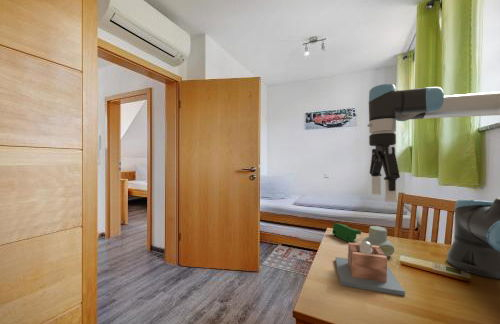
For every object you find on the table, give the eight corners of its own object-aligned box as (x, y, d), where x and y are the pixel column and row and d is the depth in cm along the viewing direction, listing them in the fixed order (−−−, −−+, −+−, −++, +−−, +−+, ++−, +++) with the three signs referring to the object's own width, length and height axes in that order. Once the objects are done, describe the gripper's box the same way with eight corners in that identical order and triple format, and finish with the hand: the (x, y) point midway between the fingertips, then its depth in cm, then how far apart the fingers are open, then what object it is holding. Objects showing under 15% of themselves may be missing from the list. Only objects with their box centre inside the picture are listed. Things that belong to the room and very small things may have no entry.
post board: (386, 267, 74) (386, 263, 74) (404, 295, 59) (405, 291, 59) (335, 260, 78) (335, 257, 78) (340, 285, 63) (340, 281, 63)
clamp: (354, 250, 98) (365, 234, 95) (344, 248, 96) (355, 232, 93) (339, 232, 109) (348, 217, 106) (329, 230, 107) (338, 215, 104)
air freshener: (371, 259, 80) (372, 232, 79) (357, 250, 88) (358, 225, 88) (398, 258, 81) (399, 231, 81) (381, 248, 89) (382, 224, 89)
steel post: (370, 269, 70) (370, 240, 70) (372, 275, 66) (373, 244, 66) (358, 268, 71) (358, 238, 71) (360, 273, 67) (361, 242, 67)
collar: (377, 267, 72) (378, 245, 71) (386, 282, 63) (387, 257, 63) (347, 263, 74) (348, 242, 74) (352, 276, 65) (352, 253, 65)
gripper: (360, 137, 86) (361, 191, 86) (382, 129, 61) (383, 204, 62) (381, 136, 84) (382, 192, 84) (413, 127, 60) (414, 205, 60)
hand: (382, 197), depth 73 cm, fingers open, 13 cm apart
